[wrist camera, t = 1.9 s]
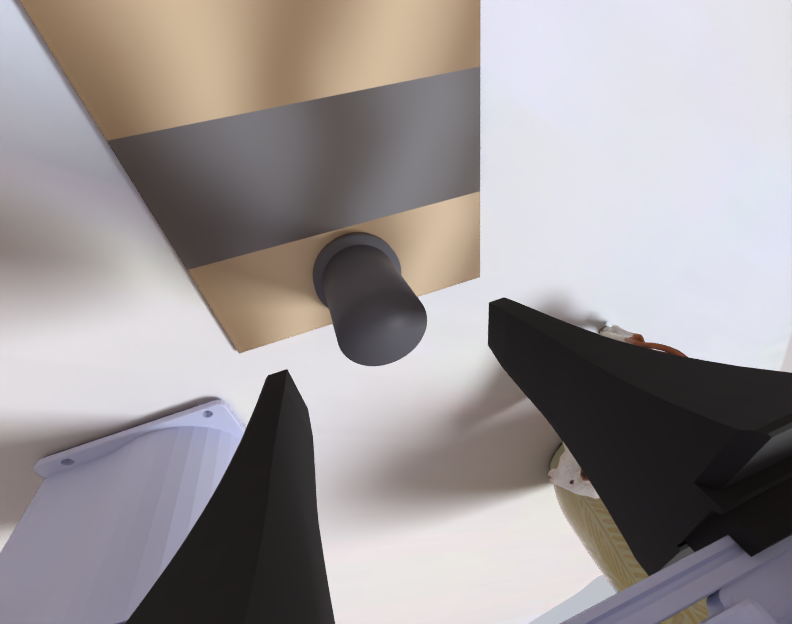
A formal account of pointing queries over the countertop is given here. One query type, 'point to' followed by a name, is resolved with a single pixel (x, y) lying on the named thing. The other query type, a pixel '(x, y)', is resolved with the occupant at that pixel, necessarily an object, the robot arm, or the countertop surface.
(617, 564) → the vase
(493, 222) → the countertop surface
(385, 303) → the dark grey rounded knob
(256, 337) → the track board
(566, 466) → the bull figurine
